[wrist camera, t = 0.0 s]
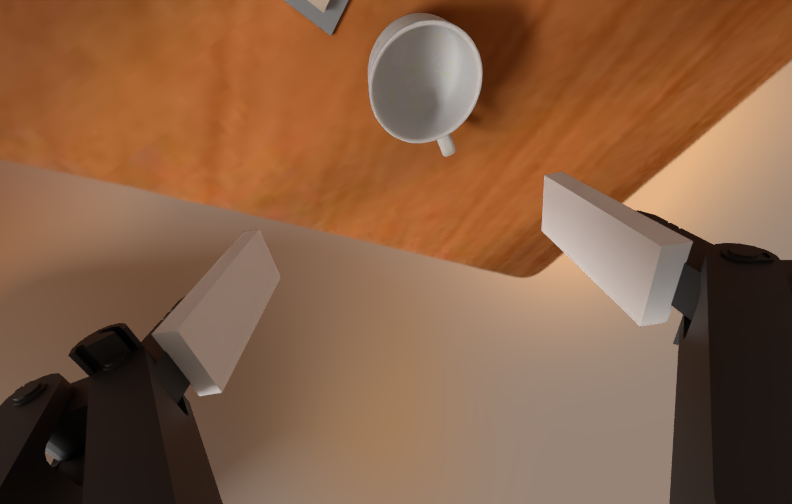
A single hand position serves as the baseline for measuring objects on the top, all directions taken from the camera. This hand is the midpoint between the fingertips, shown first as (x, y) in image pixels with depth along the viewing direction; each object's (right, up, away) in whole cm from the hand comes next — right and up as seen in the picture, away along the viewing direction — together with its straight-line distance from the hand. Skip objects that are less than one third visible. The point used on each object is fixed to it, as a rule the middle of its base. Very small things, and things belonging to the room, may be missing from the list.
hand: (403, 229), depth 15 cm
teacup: (+2, +19, +21) cm, 29 cm away
